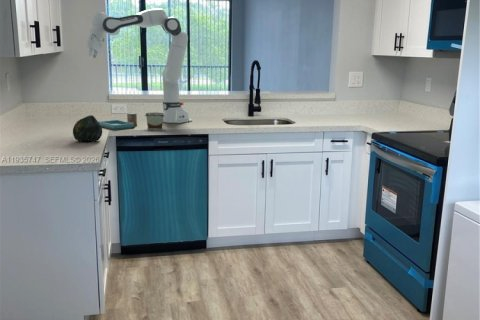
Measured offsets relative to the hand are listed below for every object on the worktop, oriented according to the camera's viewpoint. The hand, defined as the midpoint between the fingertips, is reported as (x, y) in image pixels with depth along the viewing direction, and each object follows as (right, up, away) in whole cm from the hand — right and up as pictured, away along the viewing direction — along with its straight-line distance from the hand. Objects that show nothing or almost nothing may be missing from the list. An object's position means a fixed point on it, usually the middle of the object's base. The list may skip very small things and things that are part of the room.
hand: (92, 56), depth 307 cm
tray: (+18, -48, -7) cm, 51 cm away
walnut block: (+26, -46, +1) cm, 53 cm away
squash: (+16, -59, -55) cm, 82 cm away
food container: (+44, -49, -7) cm, 66 cm away
